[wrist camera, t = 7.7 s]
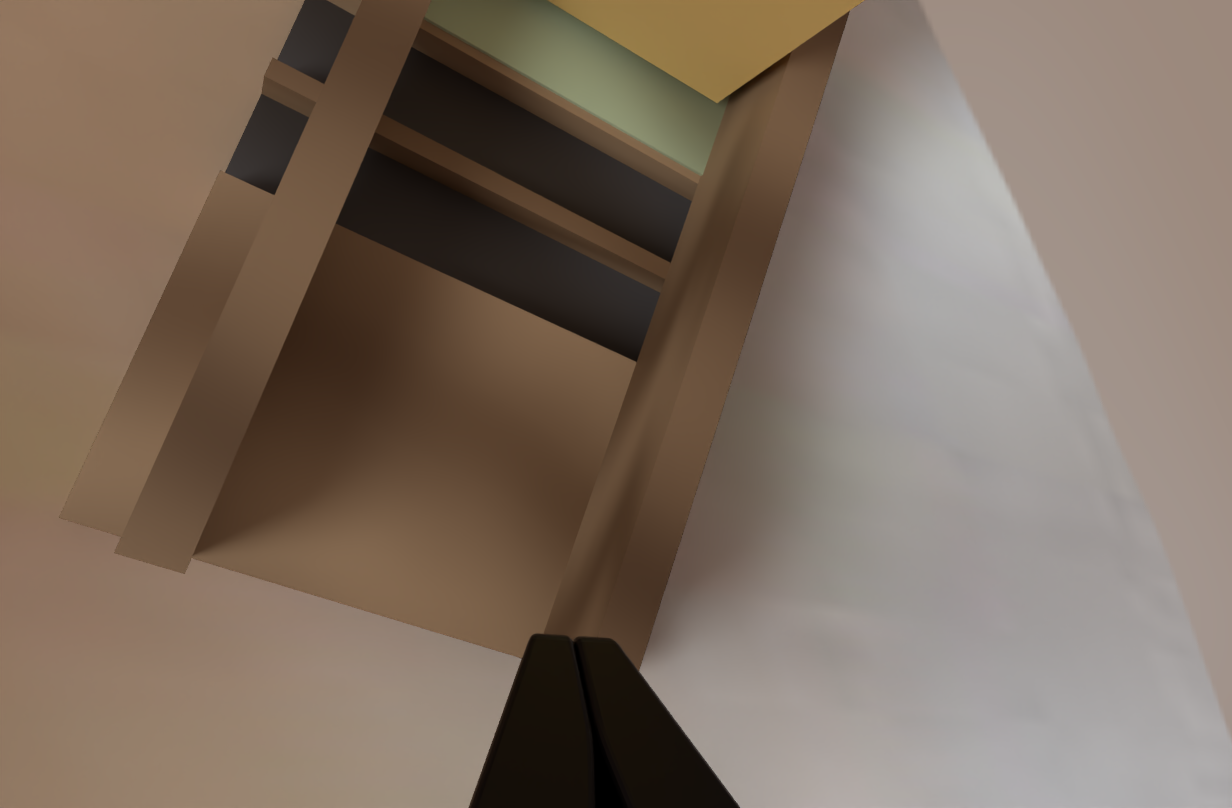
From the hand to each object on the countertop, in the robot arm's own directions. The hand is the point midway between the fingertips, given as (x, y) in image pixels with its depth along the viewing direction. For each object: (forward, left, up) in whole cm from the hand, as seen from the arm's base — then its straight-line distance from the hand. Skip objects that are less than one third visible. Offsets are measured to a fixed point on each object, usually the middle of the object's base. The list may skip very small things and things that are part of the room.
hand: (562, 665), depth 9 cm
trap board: (+6, -5, -10) cm, 13 cm away
